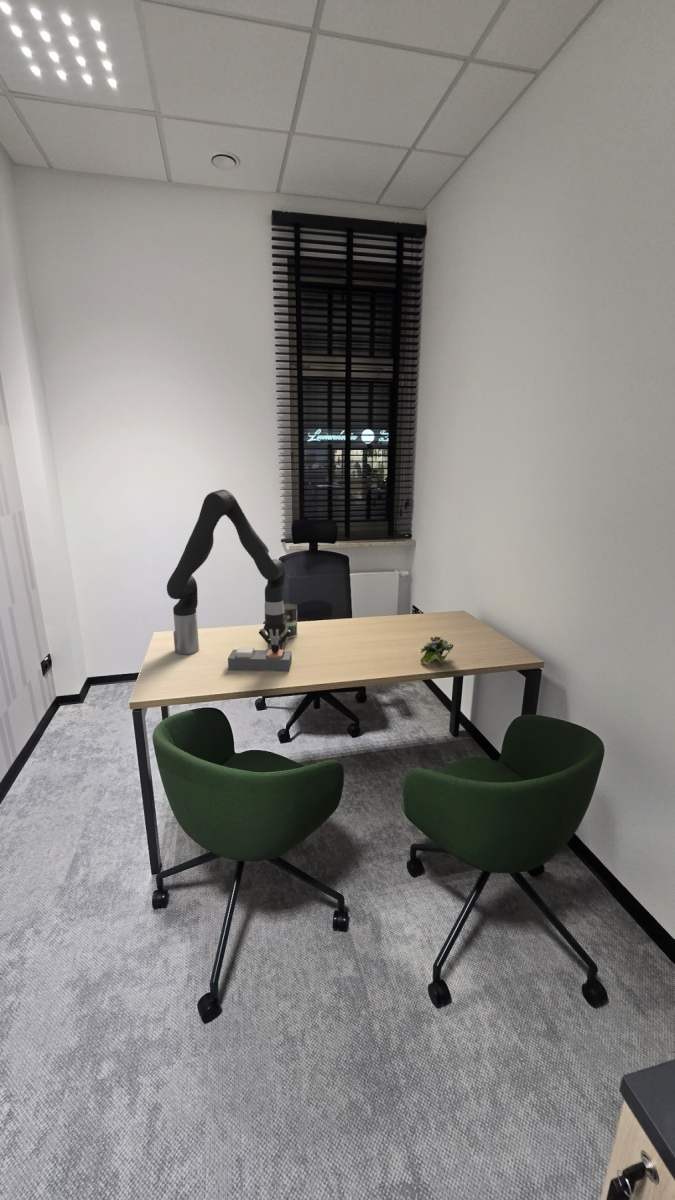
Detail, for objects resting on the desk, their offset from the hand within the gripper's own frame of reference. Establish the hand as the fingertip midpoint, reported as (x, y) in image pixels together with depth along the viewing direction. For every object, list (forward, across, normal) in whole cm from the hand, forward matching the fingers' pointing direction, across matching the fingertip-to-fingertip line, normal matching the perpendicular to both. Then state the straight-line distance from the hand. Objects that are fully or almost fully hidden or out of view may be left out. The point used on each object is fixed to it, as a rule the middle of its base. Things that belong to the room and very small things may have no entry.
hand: (275, 652), depth 192 cm
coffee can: (+6, 0, +36) cm, 37 cm away
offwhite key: (+2, -12, 0) cm, 12 cm away
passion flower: (+6, +66, +8) cm, 67 cm away
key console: (+6, -6, 0) cm, 9 cm away
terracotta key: (+3, 0, 0) cm, 3 cm away
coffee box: (+6, -2, +20) cm, 21 cm away
